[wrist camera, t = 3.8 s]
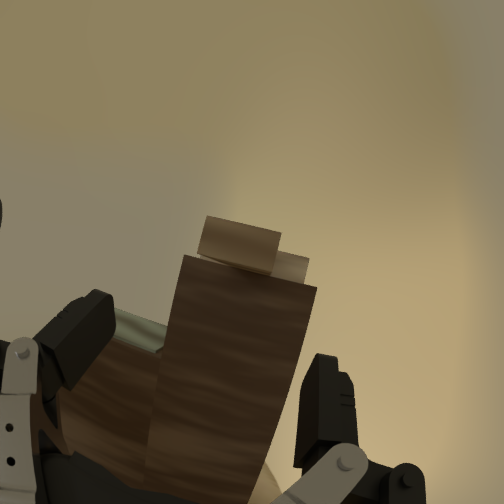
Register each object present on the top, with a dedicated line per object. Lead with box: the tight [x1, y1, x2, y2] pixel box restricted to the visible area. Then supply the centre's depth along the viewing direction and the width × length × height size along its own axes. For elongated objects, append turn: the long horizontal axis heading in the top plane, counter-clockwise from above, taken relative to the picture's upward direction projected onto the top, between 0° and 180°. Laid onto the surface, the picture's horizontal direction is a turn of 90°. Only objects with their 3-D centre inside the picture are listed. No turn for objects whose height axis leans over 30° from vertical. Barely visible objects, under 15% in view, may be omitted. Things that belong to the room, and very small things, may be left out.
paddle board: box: [197, 216, 309, 284], centre depth 25 cm, size 24×10×2 cm, turn 177°
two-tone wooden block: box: [58, 255, 317, 504], centre depth 31 cm, size 14×25×32 cm, turn 87°
